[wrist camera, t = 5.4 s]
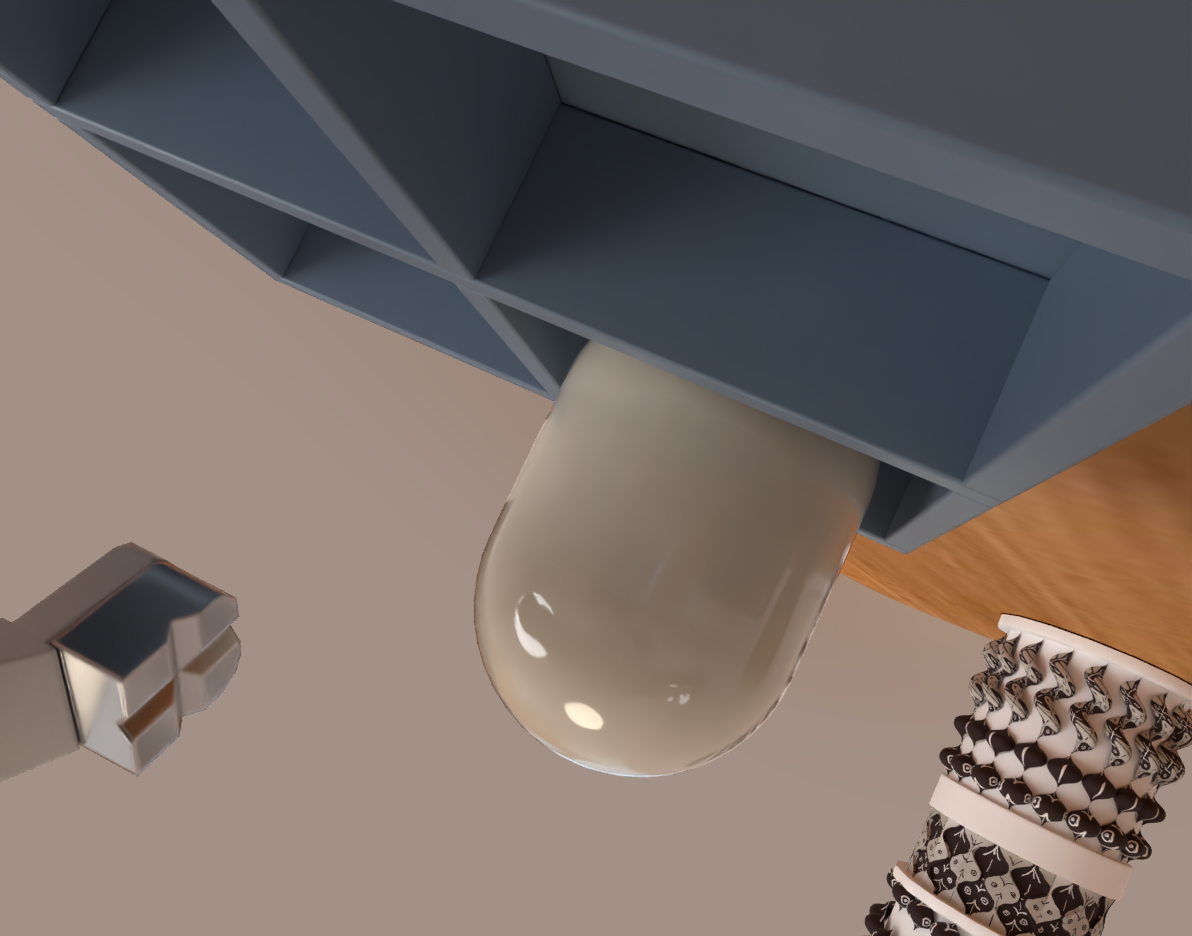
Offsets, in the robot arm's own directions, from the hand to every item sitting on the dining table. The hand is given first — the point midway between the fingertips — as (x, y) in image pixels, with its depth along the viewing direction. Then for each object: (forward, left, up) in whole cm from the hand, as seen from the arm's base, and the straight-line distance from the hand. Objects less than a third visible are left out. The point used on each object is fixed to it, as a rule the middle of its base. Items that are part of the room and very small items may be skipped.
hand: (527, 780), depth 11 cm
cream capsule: (+3, -1, -7) cm, 8 cm away
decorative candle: (+37, 0, -8) cm, 38 cm away
